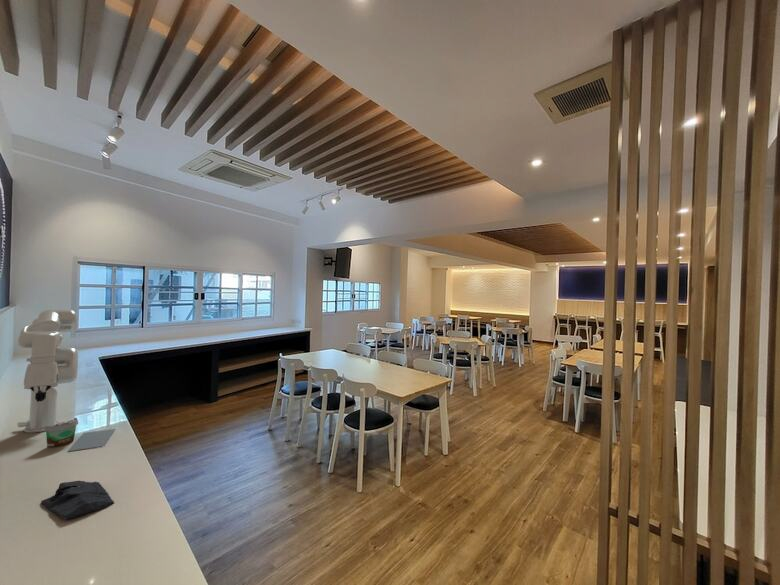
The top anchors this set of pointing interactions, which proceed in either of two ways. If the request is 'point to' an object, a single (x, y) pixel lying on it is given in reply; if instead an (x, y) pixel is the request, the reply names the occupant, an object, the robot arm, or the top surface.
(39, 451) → the top surface
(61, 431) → the food container
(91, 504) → the dark slate chunk
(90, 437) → the rubber mat
